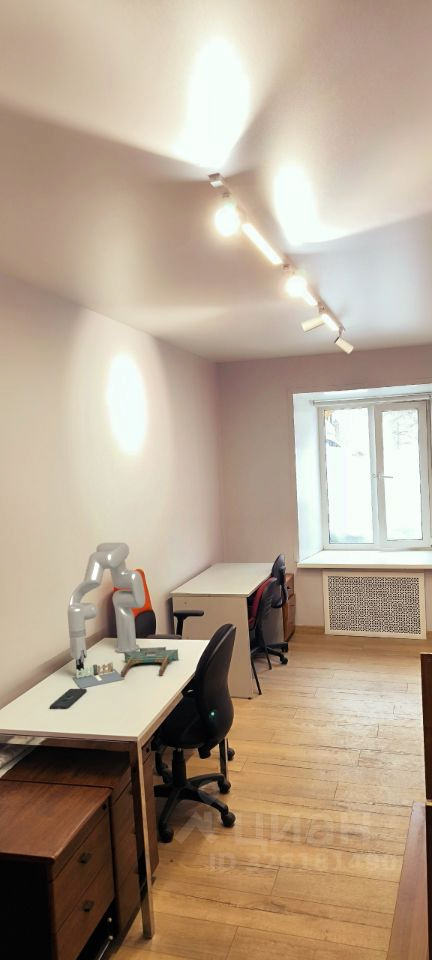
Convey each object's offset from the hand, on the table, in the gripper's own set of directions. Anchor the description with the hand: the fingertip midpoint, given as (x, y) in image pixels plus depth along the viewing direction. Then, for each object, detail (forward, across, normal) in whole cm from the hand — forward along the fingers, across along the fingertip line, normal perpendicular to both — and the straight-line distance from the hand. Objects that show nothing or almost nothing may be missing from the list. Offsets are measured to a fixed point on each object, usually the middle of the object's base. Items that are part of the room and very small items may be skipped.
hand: (80, 672), depth 293 cm
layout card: (+2, +10, +5) cm, 11 cm away
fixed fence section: (+1, +6, +9) cm, 11 cm away
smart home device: (+3, +26, -14) cm, 30 cm away
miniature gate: (+2, +10, +30) cm, 32 cm away
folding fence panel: (+1, +4, +1) cm, 5 cm away
